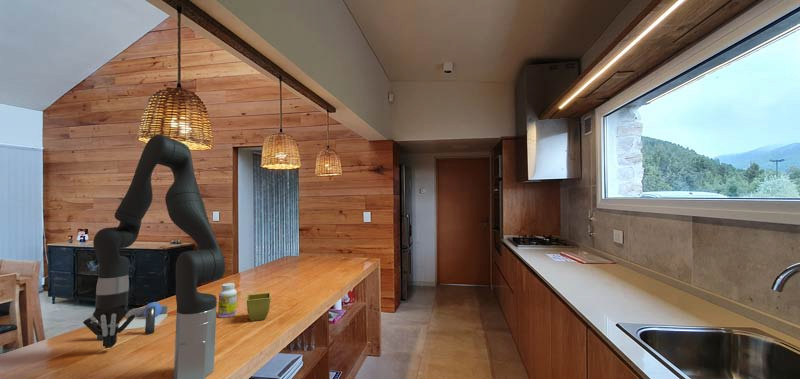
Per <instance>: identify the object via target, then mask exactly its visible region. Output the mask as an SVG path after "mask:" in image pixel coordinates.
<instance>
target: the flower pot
mask: <svg viewBox="0 0 800 379" xmlns="http://www.w3.org/2000/svg"><path fill="white" fill-rule="evenodd" d="M271 296H272V295H271V293H270V292H263V293H255V294H254V293H253V294H247V296H246V306H247V307H246V308H247V309H246V310H247V315H248V318H249V320H250V321H251V322H255V321H256V322H257V321H261V320H263V321H264V320H266V318H267V317H268V314H269V312H270V308H271V299H272V298H271Z"/></svg>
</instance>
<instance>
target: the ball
mask: <svg viewBox="0 0 800 379" xmlns="http://www.w3.org/2000/svg"><path fill="white" fill-rule="evenodd" d="M152 306H155V317H156V316H158V315H161V314H160V313H161V311H162V306H163V305H162V304H161V303H159V301H158V302H157V301H153V302H149V303H148V304H146V305H145V307H143V308H144V311H143V313H144V315H145V316H146V308H147V307H152Z"/></svg>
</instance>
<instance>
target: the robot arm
mask: <svg viewBox="0 0 800 379" xmlns="http://www.w3.org/2000/svg"><path fill="white" fill-rule="evenodd" d="M157 165H159V166H163V167H166V168H169V169H170V170H171V172H172V175H173V182H172V184H171V185H170V187H169V188H168V190H167V191H166V194H165V197H164V199H165V205H166V209H167V214H168V216H169V218H170V220H171V221H172V222H173V224H175V226H176V227H178V228H179V229H180V230H181V231H182V232H184V233H185V234H186V235H187V236H188V237H190V238H191V239H192V241H194V242H195V244H196V246H197V247H198V249H196V250H187V251H183V252H181V253H180V254H179V256H178V257H177V259H176V263H175V302H176V316H175V317H176V320H175V339H174V357H173V358H174V359H173V361H174V362H173V364H174V365H173V379H206V377H207V376H209V375H210V374H212V373H213V372H214V369H215V359H216V358H215V355H216V326H217V306H218V305H217V303H218V300H217V299H218V298H217V296H216V295H214V294H211V293H205V292H204V293H203V292H199V291H198V288H197V286H198V285H200V284H204V283H205V284H206V283H210V282H214V281H218V280H221V279H222V278H223V277H224V275H225V274H226V273H225V272H226V261H225V257H224V254H223V251H222V248H221V247H220V244H219V242H218V240H217V239H216V235H215V234H214V231H213V229H212V227H211V226H212V225H211V222H210V220H209V217H208V214H207V210H206V207H205V204H204V203H205V202H204V200H203V197H202V195H201V191H200V188H199V186H198V183H197V179H196V178H197V177H196V174H195V170H194V164H193V157H192V153H191V149H190V148H189V146H187V144H185V143H184V142H181V141H179V140H177V139H174V138H171V137H168V136H166V135H164V134H163V135H162V134H156V135H153V136H151V137H150V138H149V139H148V141H147V142H146V144H145V146H144V148H143V150H142V153H141V155H140V157H139V160H138V163H137V166H136V169H135V171H134V174H133V177H132V180H131V182H130V185H129V187H128V189H127V191H126V193H125V195H124V197H123V198H122V200H121V202H120V203H119V206H118V207H117V209H116V210H115V212H114V219H115V220H116V221H118V222H119V225H118V226H115V227H104V228H101V229H99V230H98V231H97V232H96V234H95V235H94V237H93V240H92V241H93V242H92V243H93V244H92V245H93V249H94V252H95V256H96V259H97V262H98V276H97V278H98V279H97V283H96V289H95V290H96V291H95V305H94V306H95V309H94V312H93V313H92V316H90V317H88V318H86V319H84V320H83V322H82V323H83V324H84V325H85V326H86V327H87V328H88V330H90V331H91V333H93V334H94V335H95V336H97V335H102V336H103V340H102V346H103V347H104V349H109V348H110V349H112V348H113V347H114V345H116V344H117V337H118V336H117V334H120V333H122V332H123V331H125V330H124V329H125V328H126V327H127V326H128V325H129V324H130V322H131V321H132V320H133V319H134V318H135V317H136V316H137V313H132V312H131V310H130V308H129V305H128V304H129V290H130V282H129V281H130V279H129V278H130V277H129V272H130V271H129V269H130V267H129V266H130V260H129V258H128V257H127V256H121V254H120V250H121V249H125V248H128V247H130V246H132V245H133V244H134V243H135V242H136V241H137V238H138V237H139V234H140V230H141V226H142V220H143V218H144V217H145V215H146V214H147V212H148V210H149V208H150V207H151V205H152V202H153V197H154V196H153V186H152V175H153V172H154V169H155V167H156V166H157ZM124 318H125V319H126V321H125V322H124V323H123V324H122V326H121V327H119V324H120V323H121V322H122V321H123V320H124ZM98 322H99V323H100V324H101V326H100V325H99V324H98ZM118 327H119V328H118Z"/></svg>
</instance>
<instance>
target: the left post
mask: <svg viewBox="0 0 800 379" xmlns="http://www.w3.org/2000/svg"><path fill="white" fill-rule="evenodd" d="M97 323H98V324H99V325H100V326H101V324H100V323H99V322H98V321H97ZM96 341H97V342H99V341H103V336H102V335H96Z"/></svg>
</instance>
